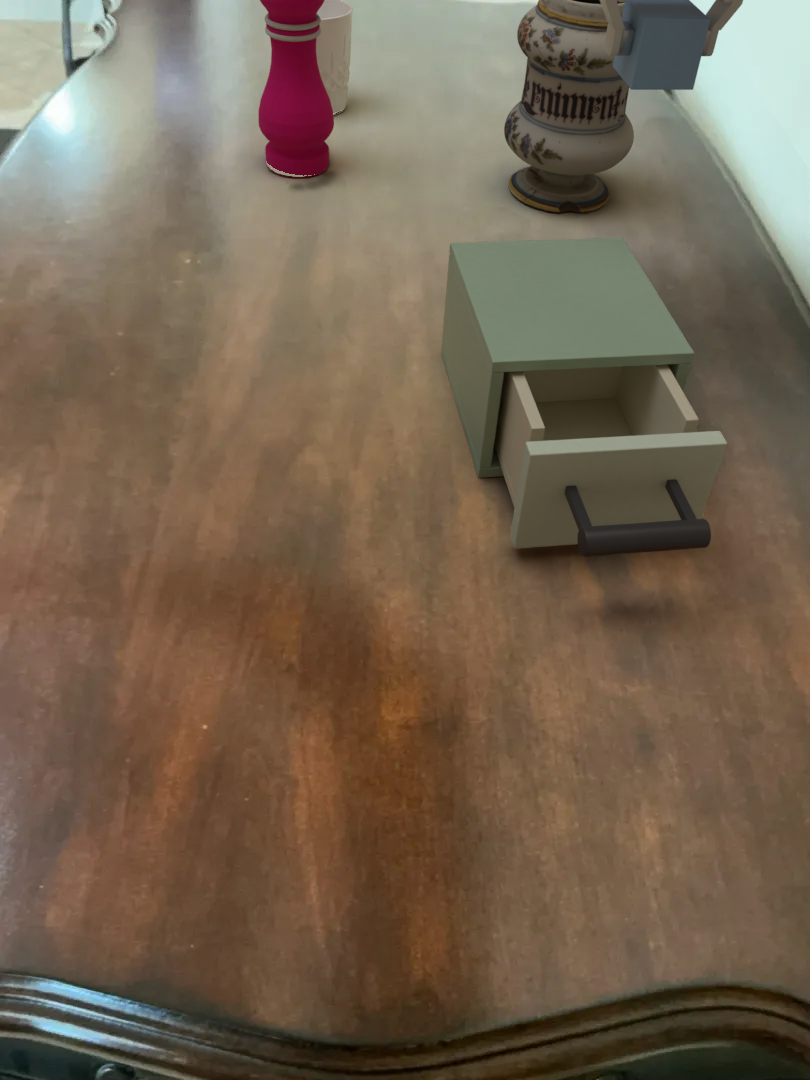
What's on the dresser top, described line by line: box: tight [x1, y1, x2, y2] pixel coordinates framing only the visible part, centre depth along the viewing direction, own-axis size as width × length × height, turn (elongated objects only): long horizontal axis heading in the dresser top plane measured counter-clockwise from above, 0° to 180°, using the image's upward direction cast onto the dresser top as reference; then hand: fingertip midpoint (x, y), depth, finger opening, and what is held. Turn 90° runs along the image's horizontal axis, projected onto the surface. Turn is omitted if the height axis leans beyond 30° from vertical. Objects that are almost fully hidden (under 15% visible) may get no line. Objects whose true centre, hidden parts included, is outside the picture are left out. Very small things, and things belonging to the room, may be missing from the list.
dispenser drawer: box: [494, 364, 728, 558], centre depth 59 cm, size 18×11×7 cm, turn 8°
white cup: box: [316, 0, 354, 116], centre depth 104 cm, size 8×8×10 cm
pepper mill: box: [258, 0, 335, 179], centre depth 90 cm, size 7×7×20 cm
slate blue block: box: [613, 0, 710, 91], centre depth 67 cm, size 4×4×4 cm
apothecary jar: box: [503, 0, 635, 214], centre depth 89 cm, size 12×12×18 cm
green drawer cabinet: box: [440, 237, 695, 479], centre depth 67 cm, size 15×13×9 cm
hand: (656, 53), depth 67 cm, fingers closed on slate blue block, 4 cm apart
